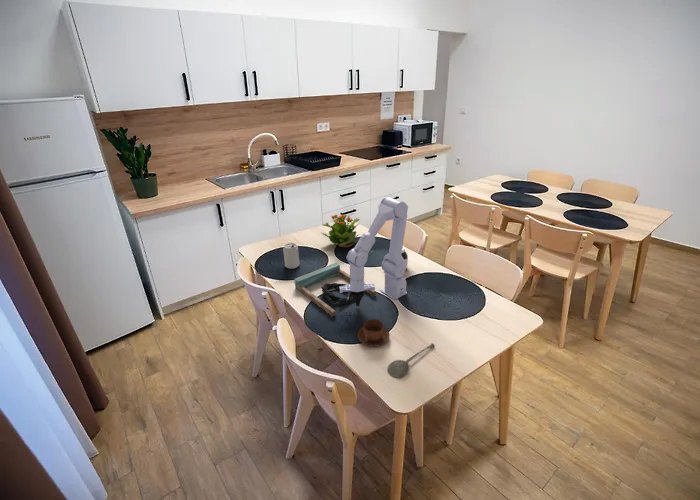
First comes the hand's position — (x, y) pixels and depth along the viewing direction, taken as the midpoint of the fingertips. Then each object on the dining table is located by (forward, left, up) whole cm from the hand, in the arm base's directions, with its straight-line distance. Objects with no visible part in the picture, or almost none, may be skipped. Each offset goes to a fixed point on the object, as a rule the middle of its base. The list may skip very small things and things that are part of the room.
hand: (357, 304), depth 152 cm
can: (+50, +2, -2) cm, 50 cm away
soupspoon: (-36, +5, -2) cm, 37 cm away
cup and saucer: (-19, +8, -2) cm, 20 cm away
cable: (+13, 0, -2) cm, 13 cm away
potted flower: (+52, -35, -2) cm, 63 cm away
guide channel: (+16, 0, -1) cm, 16 cm away
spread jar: (+12, -35, -2) cm, 37 cm away
